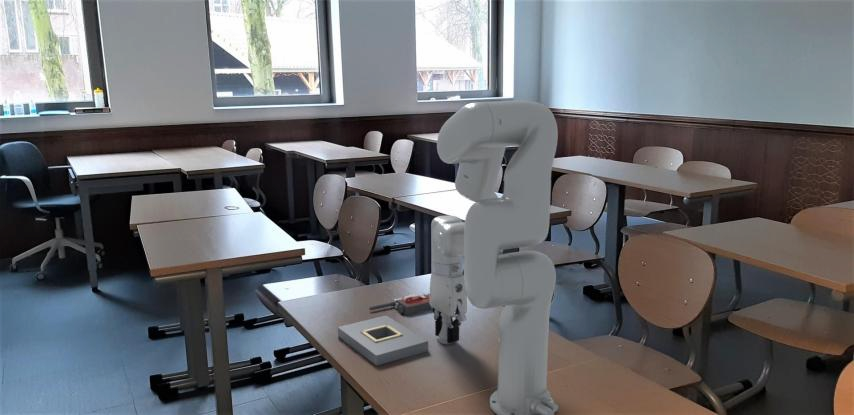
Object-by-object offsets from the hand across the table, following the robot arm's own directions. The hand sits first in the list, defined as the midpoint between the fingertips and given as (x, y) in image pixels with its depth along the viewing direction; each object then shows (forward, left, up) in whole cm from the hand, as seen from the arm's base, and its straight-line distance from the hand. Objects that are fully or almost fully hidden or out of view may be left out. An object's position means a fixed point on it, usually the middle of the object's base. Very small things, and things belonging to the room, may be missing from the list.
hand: (447, 337), depth 157 cm
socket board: (+8, +14, -1) cm, 16 cm away
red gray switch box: (+24, -3, -2) cm, 25 cm away
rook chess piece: (0, 0, -1) cm, 1 cm away
